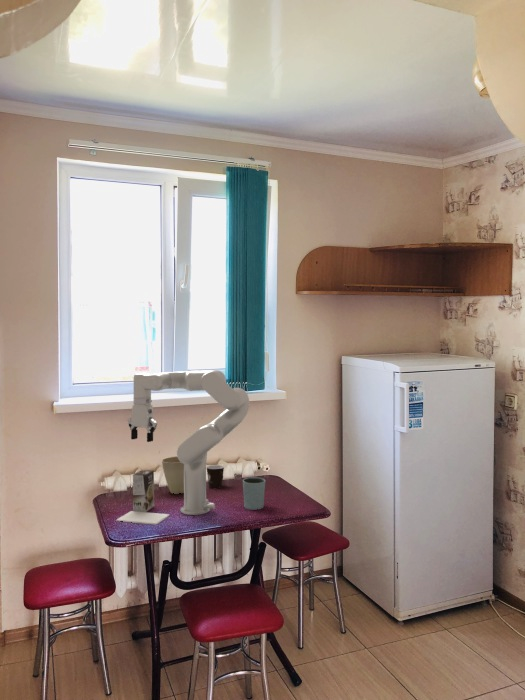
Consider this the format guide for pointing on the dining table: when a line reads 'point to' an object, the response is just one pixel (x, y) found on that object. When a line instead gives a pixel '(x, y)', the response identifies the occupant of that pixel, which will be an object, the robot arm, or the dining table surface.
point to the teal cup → (253, 493)
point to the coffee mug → (215, 475)
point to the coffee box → (143, 491)
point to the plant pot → (174, 474)
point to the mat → (143, 517)
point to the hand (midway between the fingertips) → (142, 440)
